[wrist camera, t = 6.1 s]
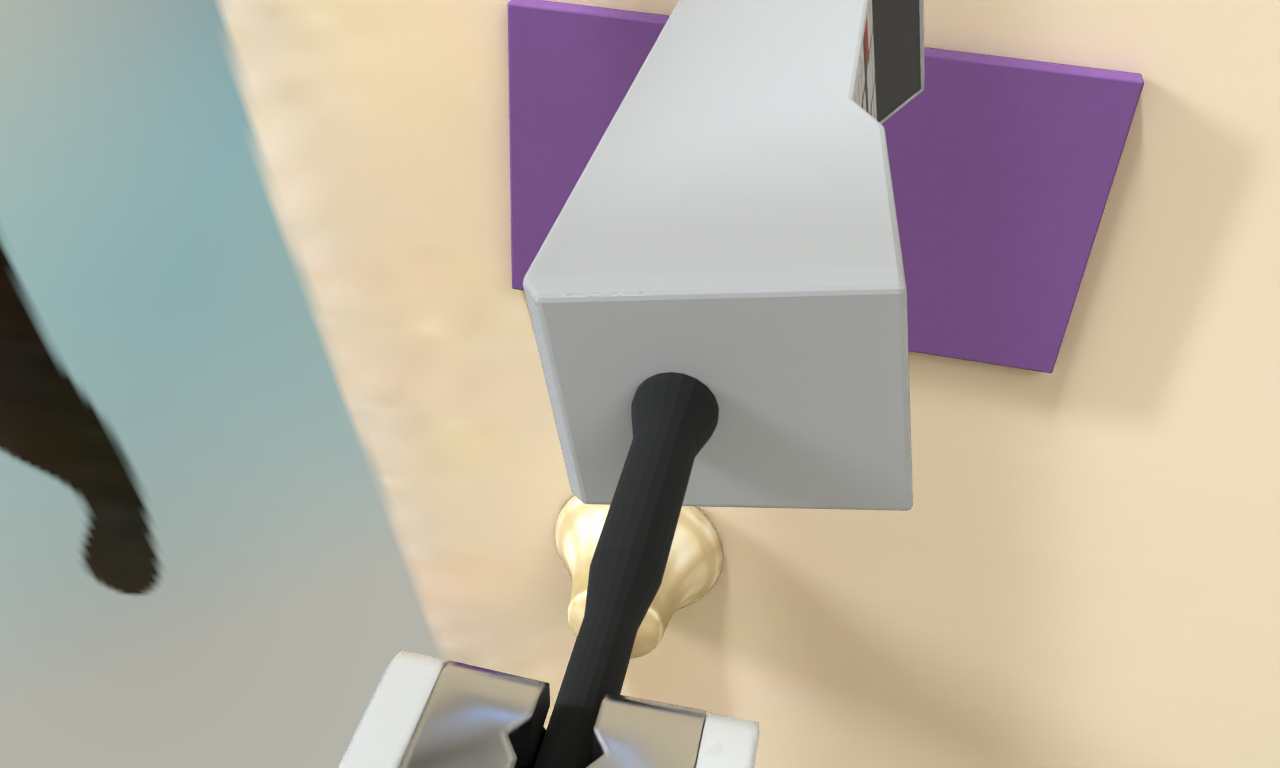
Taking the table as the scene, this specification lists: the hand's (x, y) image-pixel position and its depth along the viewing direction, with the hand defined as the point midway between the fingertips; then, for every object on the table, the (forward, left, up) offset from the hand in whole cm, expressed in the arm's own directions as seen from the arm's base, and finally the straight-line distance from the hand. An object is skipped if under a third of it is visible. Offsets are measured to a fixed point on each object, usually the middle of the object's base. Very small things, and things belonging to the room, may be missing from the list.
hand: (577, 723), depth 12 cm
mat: (+11, 0, -34) cm, 36 cm away
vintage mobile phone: (0, +1, -22) cm, 22 cm away
